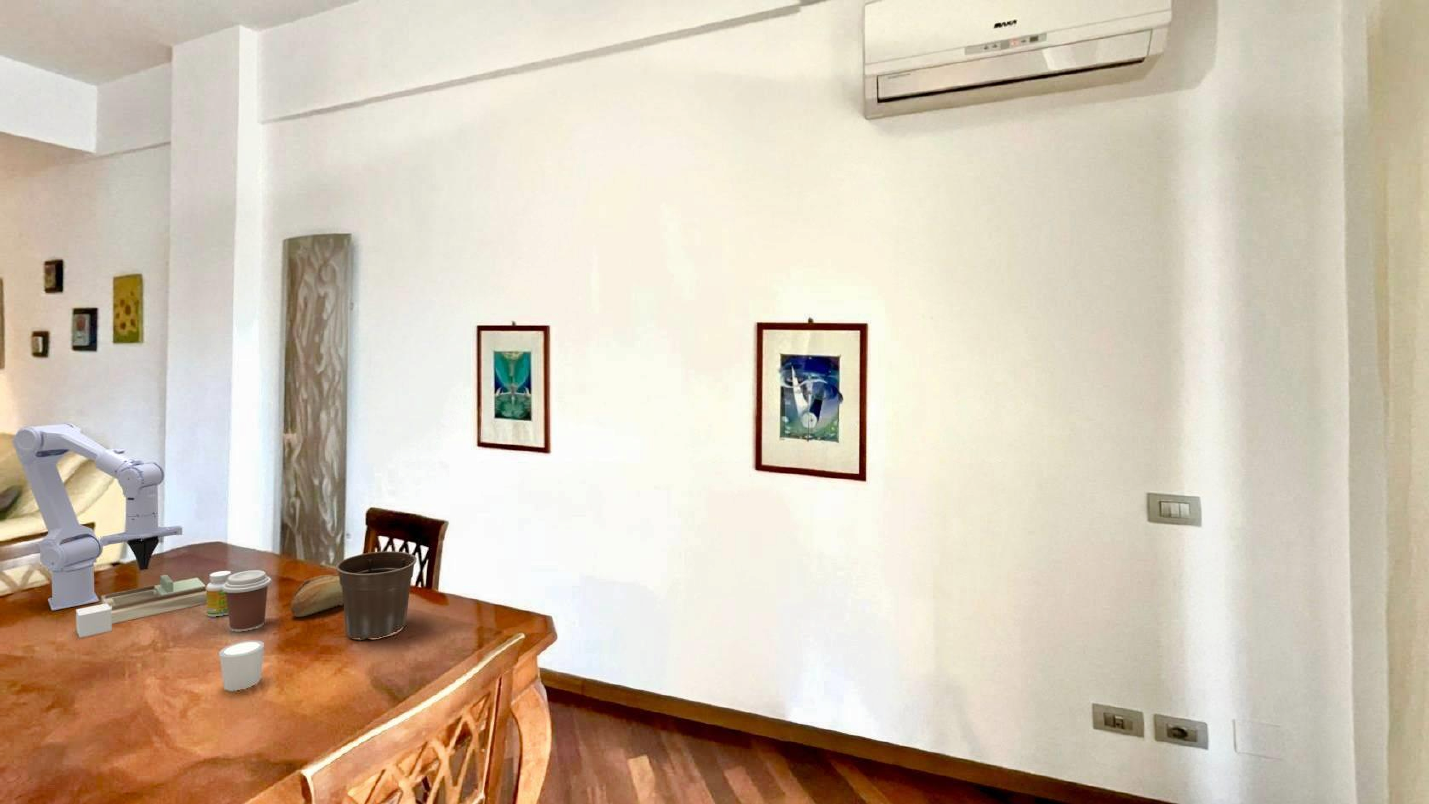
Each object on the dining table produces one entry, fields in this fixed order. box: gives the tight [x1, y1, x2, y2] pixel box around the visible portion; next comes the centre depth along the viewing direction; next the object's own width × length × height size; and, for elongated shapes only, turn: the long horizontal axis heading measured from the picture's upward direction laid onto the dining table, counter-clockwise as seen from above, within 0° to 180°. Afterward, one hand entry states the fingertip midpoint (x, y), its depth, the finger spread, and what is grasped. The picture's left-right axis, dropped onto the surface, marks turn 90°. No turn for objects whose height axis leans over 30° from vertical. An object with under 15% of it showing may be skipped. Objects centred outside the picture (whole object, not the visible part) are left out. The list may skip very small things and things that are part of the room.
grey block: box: [75, 603, 113, 639], centre depth 138 cm, size 5×5×5 cm
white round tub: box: [218, 640, 265, 692], centre depth 119 cm, size 7×7×7 cm
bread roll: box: [290, 574, 344, 618], centre depth 154 cm, size 10×15×8 cm, turn 157°
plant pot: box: [335, 550, 417, 640], centre depth 143 cm, size 16×16×16 cm
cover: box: [154, 574, 207, 596], centre depth 157 cm, size 8×8×3 cm
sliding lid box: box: [100, 577, 207, 625], centre depth 154 cm, size 15×18×3 cm
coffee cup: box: [222, 569, 272, 633], centre depth 143 cm, size 9×9×12 cm
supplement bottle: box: [206, 570, 232, 618], centre depth 150 cm, size 5×5×10 cm
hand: (143, 568), depth 151 cm, fingers closed
